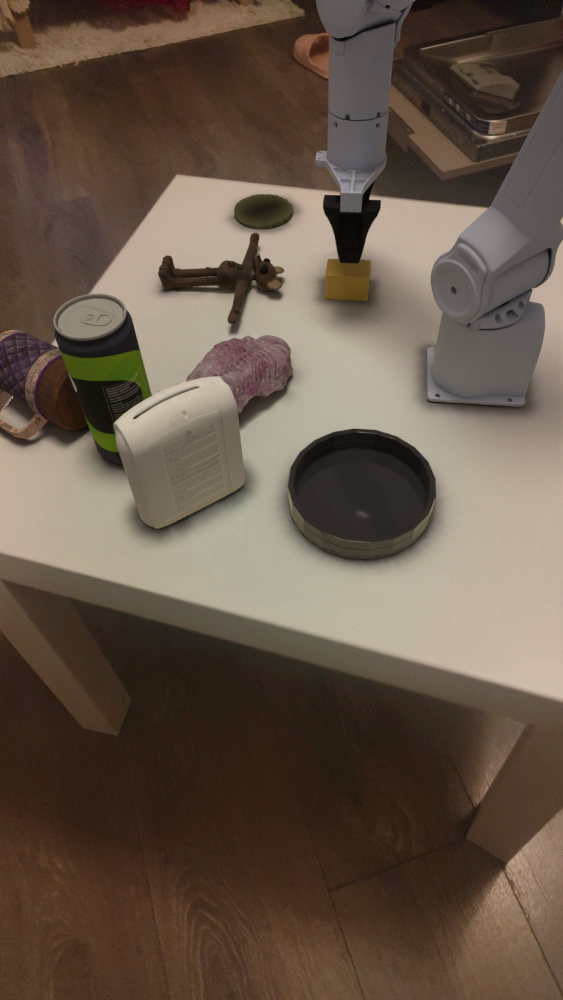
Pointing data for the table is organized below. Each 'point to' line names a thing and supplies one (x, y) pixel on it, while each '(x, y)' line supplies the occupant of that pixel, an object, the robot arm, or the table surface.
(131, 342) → the beverage can
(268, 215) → the olive green flat disc
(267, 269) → the bear figurine
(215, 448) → the photo printer
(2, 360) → the mug
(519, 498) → the table surface
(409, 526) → the pan
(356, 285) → the cheese
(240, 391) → the fossil
